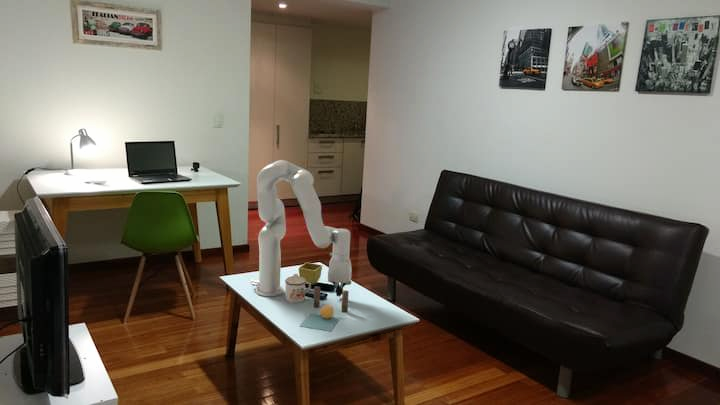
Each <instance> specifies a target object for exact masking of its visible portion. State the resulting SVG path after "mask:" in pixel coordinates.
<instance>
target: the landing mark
mask: <svg viewBox="0 0 720 405" xmlns="http://www.w3.org/2000/svg"><path fill="white" fill-rule="evenodd" d="M340 319H341V317H337V316H332V317H331V318H329V319H325V318H323V317H322V316H321V314H319V313H318V314H317V313H309V314H308V316H306V318H305V319H304V320H303V321H302V322H301V324H299V327H301V328H306V329H307V328H308V329H314V330H320V331H324V332H325V331H327V332H332V330H334V328H335V326H336V325H337V323H338V322H339V320H340Z"/></svg>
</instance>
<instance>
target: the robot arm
mask: <svg viewBox="0 0 720 405" xmlns="http://www.w3.org/2000/svg"><path fill="white" fill-rule="evenodd" d="M314 180H315V179H314V176H313V174H312V173H311V172H310V171H309V170H307V169H305V168H303V167H300V166H299V165H296V164H294V163H292V162H289V161H287V160H285V159H279V160H276V161H275V162H274V161H273V162H272V163H270V164H268V165H266V166H265V167H264V168H262V169H261V170H260V171H259V173H258V175H257V178H256V192H257V209H258V216H259V218H260V220H261V221H263V222H264V223H265V225H264V226H263V227H262V228H261V229H260V231H259V233H258V237H257V238H258V240H257V241H258V250H259V258H258V259H259V264H258V265H259V266H258V267H259V268H258V269H259V270H258V277H259V278H258V280H256V279H251V282H250V283H251V287H256V288H255V293H256V295H259V296H262V297H276V296H279V295H282V294H284V287H283V286H281V264H282V263H281V257H282V256H281V255H282V254H281V252H282V250H281V241H282V239H284V237H285V235H286V232H287V225H286V224H287V223H286V210H285V206H284V203H283V201H282V200H281V199H280V198H278V193H277V186H276V184H277V183H279V182H281V181H286V182H289V183H290V184H291V188H292V190H293V192H294V194H295V196H296V198H297V201H298V203H299V206H300V208H301V210H302V213H303V218H304V220H305V225H306V228H307V231H308V233H309V236H310V237H311V240H312V242H313V243H314V245H315V246H316V247H317V248H319V249H320V248H321V249H325V248H328V247H329V245H331V244H332V252H329V255H328V256H330V257H331V258H330V260H329V265H328V272H327V281H328V282H329V283H331V284H332V285H334V288H335V294H336V297H342V291H344V287H345V286H349V285H351V284H352V276H353V274H352V273H353V272H352V270H353V269H352V261H351V259H350V254H351V253H350V248H351V231H350V230H349V229H347V228H336V227H333V226H327V225H325V224H324V221H323V218H322V217H323V216H322V203H321V201H320V199H319V196H318V195H317V193H316V190H315V188H314Z"/></svg>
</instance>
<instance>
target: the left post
mask: <svg viewBox="0 0 720 405" xmlns="http://www.w3.org/2000/svg"><path fill="white" fill-rule="evenodd" d="M313 287H314V288H313V290H314V291H313V308H314V309H320V305H321V304H320V303H321V301H320V300H321V286H313Z"/></svg>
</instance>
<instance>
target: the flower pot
mask: <svg viewBox="0 0 720 405" xmlns="http://www.w3.org/2000/svg"><path fill="white" fill-rule="evenodd" d="M322 269H323V265H322V264H318V263H312V262H305V263H304V264H302V265H300V266H299V267H298V276H300V277H303V278H304V279H305V280H306V282H309V283H310V284H313V283H316V282H317V283H318V282H319V281H320V278H321V275H322ZM317 283H316V284H317Z"/></svg>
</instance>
